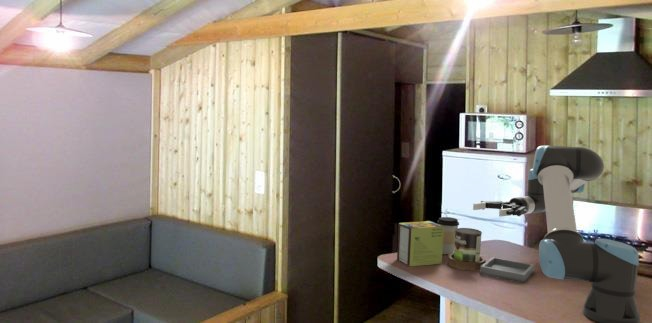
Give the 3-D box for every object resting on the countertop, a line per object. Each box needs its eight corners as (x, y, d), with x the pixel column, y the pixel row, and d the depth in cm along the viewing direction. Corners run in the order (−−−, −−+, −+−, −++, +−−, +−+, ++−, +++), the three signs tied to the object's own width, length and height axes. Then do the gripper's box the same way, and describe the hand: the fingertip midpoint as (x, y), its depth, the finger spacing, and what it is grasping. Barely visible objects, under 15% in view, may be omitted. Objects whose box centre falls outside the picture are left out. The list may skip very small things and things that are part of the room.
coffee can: (464, 270, 197) (466, 234, 195) (447, 262, 206) (449, 228, 204) (485, 267, 201) (487, 232, 199) (467, 260, 210) (469, 227, 209)
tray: (523, 283, 183) (524, 275, 183) (480, 274, 192) (480, 266, 192) (533, 272, 197) (534, 264, 196) (492, 264, 205) (492, 257, 205)
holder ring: (478, 272, 194) (478, 265, 193) (443, 265, 202) (443, 258, 201) (489, 264, 205) (489, 257, 205) (455, 257, 213) (456, 250, 213)
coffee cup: (458, 256, 215) (460, 222, 213) (435, 254, 217) (437, 220, 215) (456, 250, 224) (458, 217, 223) (435, 249, 226) (437, 216, 225)
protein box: (442, 263, 204) (444, 226, 203) (409, 267, 199) (411, 228, 197) (428, 256, 214) (429, 220, 212) (396, 259, 208) (397, 222, 207)
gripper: (545, 220, 207) (511, 225, 196) (497, 208, 228) (463, 212, 218) (547, 202, 206) (512, 206, 195) (498, 192, 228) (464, 195, 217)
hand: (486, 209), depth 207 cm, fingers open, 13 cm apart
